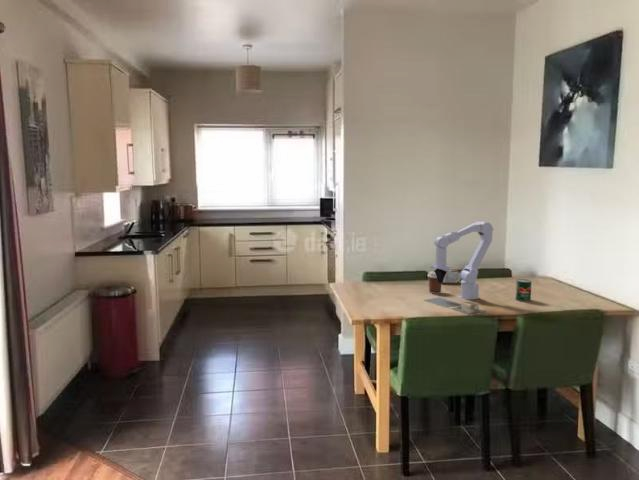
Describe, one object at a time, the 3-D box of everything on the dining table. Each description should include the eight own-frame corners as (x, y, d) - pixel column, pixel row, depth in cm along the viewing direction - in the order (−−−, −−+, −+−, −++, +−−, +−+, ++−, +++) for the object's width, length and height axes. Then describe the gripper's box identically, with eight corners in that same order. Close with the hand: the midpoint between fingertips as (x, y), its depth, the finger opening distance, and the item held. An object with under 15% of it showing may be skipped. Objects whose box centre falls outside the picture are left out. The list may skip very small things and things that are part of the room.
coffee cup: (443, 294, 310) (443, 274, 308) (427, 293, 312) (427, 273, 310) (442, 291, 319) (443, 271, 317) (427, 290, 321) (427, 270, 319)
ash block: (470, 308, 277) (470, 301, 276) (478, 311, 271) (478, 303, 271) (461, 310, 274) (461, 302, 274) (468, 313, 269) (469, 305, 268)
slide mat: (439, 298, 301) (439, 297, 301) (485, 312, 272) (485, 311, 272) (422, 300, 295) (422, 300, 295) (468, 315, 266) (468, 314, 266)
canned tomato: (521, 302, 292) (522, 282, 291) (512, 298, 300) (513, 279, 299) (533, 301, 295) (534, 281, 293) (524, 297, 302) (525, 278, 301)
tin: (461, 282, 343) (461, 269, 342) (462, 283, 340) (462, 270, 338) (437, 282, 342) (438, 269, 341) (438, 283, 339) (439, 270, 338)
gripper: (426, 257, 300) (426, 281, 302) (444, 261, 287) (444, 286, 289) (436, 256, 303) (435, 279, 305) (454, 260, 291) (453, 284, 293)
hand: (440, 282), depth 297 cm, fingers closed
